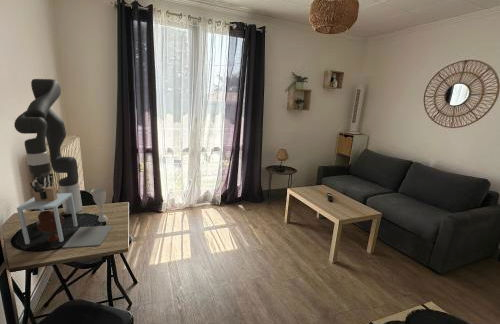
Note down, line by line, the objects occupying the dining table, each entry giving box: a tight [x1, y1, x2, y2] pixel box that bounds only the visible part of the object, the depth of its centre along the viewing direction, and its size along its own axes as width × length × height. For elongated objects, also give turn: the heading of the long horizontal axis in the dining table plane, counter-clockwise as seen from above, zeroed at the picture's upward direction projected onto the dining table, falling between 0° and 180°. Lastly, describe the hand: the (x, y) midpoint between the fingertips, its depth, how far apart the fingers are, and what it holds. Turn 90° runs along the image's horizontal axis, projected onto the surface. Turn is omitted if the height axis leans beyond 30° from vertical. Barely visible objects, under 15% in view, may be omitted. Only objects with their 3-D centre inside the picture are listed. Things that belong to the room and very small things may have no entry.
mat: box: [61, 224, 114, 249], centre depth 126 cm, size 18×16×1 cm
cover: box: [16, 186, 78, 245], centre depth 119 cm, size 15×15×24 cm
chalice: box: [90, 187, 109, 223], centre depth 139 cm, size 7×7×18 cm
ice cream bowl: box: [35, 210, 66, 243], centre depth 121 cm, size 11×11×15 cm
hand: (46, 197), depth 117 cm, fingers closed on cover, 2 cm apart
